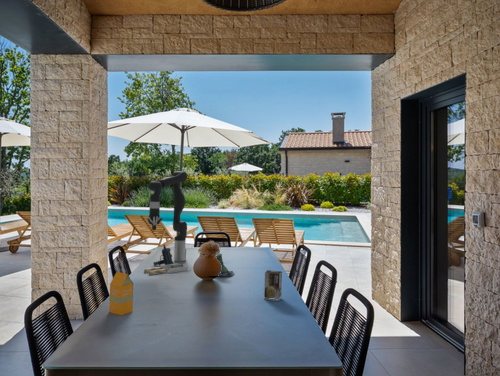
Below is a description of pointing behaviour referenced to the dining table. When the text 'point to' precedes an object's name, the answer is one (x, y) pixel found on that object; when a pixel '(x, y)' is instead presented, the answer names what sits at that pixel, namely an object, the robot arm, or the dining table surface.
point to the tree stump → (224, 268)
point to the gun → (165, 257)
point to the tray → (174, 268)
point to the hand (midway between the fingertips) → (154, 230)
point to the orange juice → (121, 294)
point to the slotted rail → (155, 270)
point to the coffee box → (273, 285)
